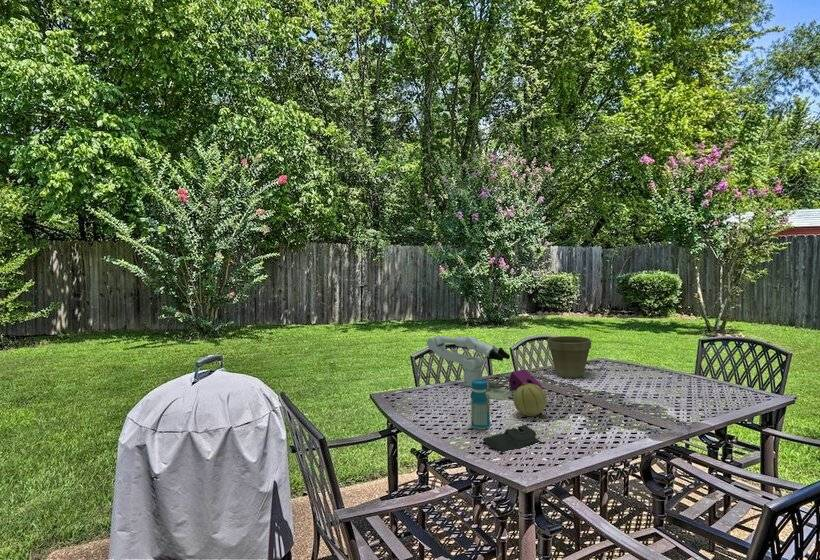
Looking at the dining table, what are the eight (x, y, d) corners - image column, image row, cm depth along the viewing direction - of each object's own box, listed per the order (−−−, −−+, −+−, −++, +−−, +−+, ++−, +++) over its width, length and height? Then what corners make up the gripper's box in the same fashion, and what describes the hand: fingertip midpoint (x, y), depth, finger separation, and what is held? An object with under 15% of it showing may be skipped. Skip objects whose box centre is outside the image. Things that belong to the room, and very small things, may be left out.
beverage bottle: (477, 431, 208) (476, 384, 207) (467, 425, 216) (466, 380, 215) (494, 427, 212) (493, 382, 210) (483, 421, 219) (482, 377, 218)
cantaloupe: (550, 420, 218) (549, 387, 217) (516, 421, 219) (515, 387, 218) (542, 409, 233) (542, 378, 232) (511, 410, 234) (510, 379, 233)
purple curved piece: (541, 402, 263) (520, 381, 277) (546, 389, 259) (524, 369, 273) (528, 405, 258) (507, 383, 272) (532, 392, 255) (511, 371, 268)
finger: (487, 391, 266) (487, 382, 265) (491, 389, 269) (490, 380, 269) (495, 392, 263) (495, 383, 263) (498, 390, 266) (498, 381, 266)
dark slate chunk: (477, 442, 197) (476, 431, 197) (519, 431, 208) (519, 420, 208) (501, 456, 184) (501, 443, 184) (545, 443, 195) (545, 431, 194)
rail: (471, 395, 260) (471, 383, 259) (479, 391, 267) (478, 379, 267) (503, 400, 249) (502, 388, 249) (510, 395, 257) (509, 383, 256)
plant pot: (545, 370, 307) (544, 335, 306) (586, 369, 304) (586, 335, 302) (551, 380, 282) (550, 343, 281) (596, 380, 279) (595, 342, 278)
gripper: (480, 343, 266) (501, 352, 258) (493, 340, 277) (514, 349, 269) (476, 355, 267) (498, 365, 259) (489, 352, 278) (510, 361, 270)
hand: (506, 358), depth 264 cm, fingers open, 7 cm apart
